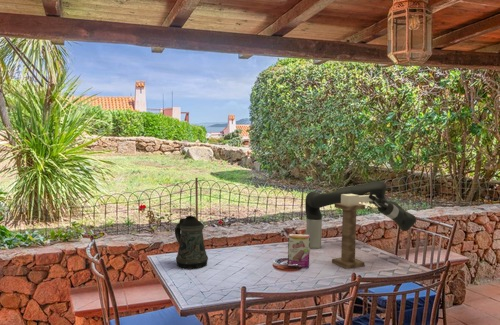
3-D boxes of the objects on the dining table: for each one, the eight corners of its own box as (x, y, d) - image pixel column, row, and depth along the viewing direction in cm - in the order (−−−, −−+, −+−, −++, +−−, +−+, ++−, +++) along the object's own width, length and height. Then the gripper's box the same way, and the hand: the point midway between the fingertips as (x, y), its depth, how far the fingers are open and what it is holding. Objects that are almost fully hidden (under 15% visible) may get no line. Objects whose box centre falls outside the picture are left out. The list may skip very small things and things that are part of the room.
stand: (346, 268, 227) (347, 206, 225) (331, 262, 238) (333, 203, 236) (364, 266, 233) (366, 205, 230) (349, 259, 243) (351, 201, 241)
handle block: (348, 205, 229) (348, 196, 228) (340, 203, 234) (341, 194, 234) (378, 203, 238) (378, 193, 237) (370, 201, 243) (370, 192, 243)
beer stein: (202, 270, 222) (202, 221, 220) (165, 267, 226) (165, 219, 224) (211, 261, 238) (212, 214, 236) (177, 258, 242) (177, 213, 240)
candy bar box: (287, 267, 229) (288, 235, 228) (287, 264, 234) (288, 233, 233) (309, 268, 228) (310, 236, 227) (309, 265, 233) (309, 234, 232)
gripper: (394, 217, 238) (373, 203, 231) (376, 213, 251) (356, 199, 244) (400, 205, 240) (379, 190, 232) (382, 201, 252) (361, 187, 245)
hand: (367, 195), depth 238 cm, fingers closed on handle block, 2 cm apart
